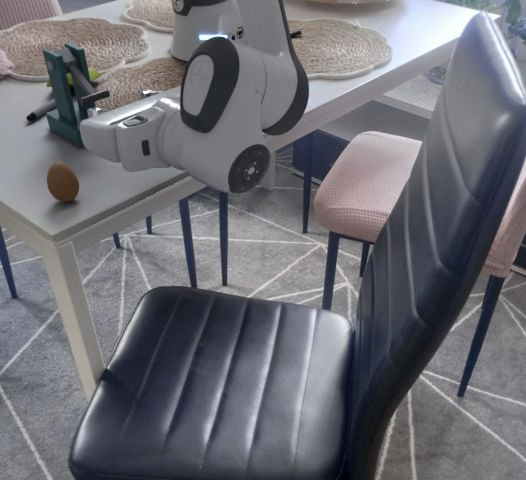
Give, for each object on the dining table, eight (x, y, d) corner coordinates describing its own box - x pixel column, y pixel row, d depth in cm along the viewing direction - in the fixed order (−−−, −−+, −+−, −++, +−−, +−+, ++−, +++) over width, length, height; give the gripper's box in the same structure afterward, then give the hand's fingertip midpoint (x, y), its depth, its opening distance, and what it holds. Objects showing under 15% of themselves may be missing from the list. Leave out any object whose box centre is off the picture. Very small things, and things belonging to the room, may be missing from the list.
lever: (109, 101, 98) (110, 90, 96) (83, 110, 96) (84, 99, 94) (73, 56, 99) (74, 44, 97) (46, 64, 97) (47, 52, 94)
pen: (25, 120, 108) (25, 114, 107) (78, 87, 119) (78, 81, 118) (31, 124, 108) (31, 117, 107) (83, 90, 119) (84, 84, 118)
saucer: (58, 68, 121) (61, 80, 122) (42, 76, 114) (45, 87, 115) (99, 64, 120) (101, 75, 121) (85, 71, 113) (88, 83, 114)
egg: (72, 210, 87) (62, 173, 83) (46, 205, 88) (35, 168, 84) (88, 195, 90) (79, 158, 86) (62, 190, 91) (52, 153, 87)
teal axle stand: (114, 134, 104) (99, 51, 95) (80, 148, 101) (60, 63, 91) (83, 117, 109) (65, 36, 100) (49, 129, 106) (27, 46, 96)
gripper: (227, 88, 87) (169, 64, 94) (110, 132, 77) (55, 102, 84) (229, 130, 92) (173, 104, 99) (119, 177, 82) (65, 144, 89)
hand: (118, 103), depth 91 cm, fingers open, 8 cm apart
